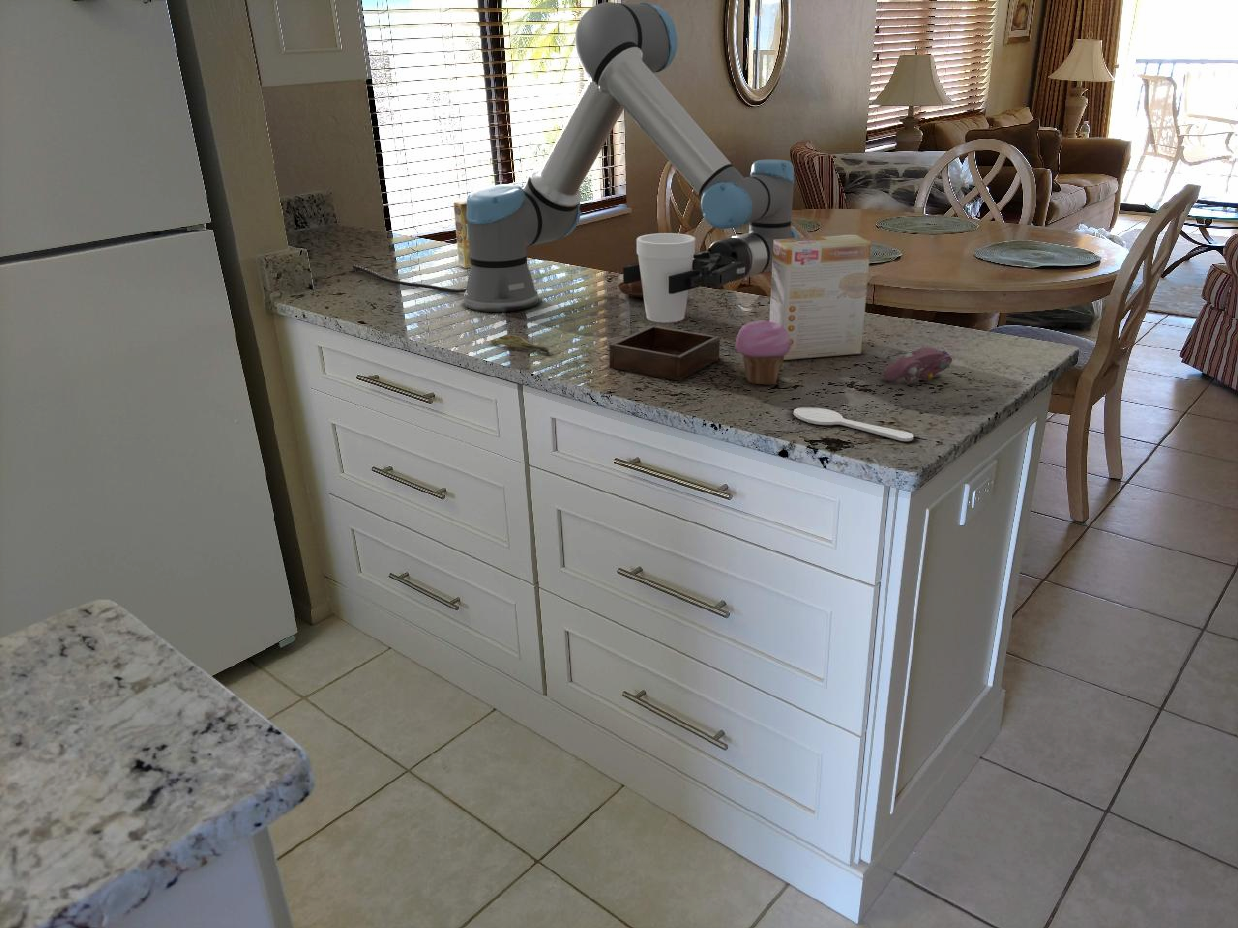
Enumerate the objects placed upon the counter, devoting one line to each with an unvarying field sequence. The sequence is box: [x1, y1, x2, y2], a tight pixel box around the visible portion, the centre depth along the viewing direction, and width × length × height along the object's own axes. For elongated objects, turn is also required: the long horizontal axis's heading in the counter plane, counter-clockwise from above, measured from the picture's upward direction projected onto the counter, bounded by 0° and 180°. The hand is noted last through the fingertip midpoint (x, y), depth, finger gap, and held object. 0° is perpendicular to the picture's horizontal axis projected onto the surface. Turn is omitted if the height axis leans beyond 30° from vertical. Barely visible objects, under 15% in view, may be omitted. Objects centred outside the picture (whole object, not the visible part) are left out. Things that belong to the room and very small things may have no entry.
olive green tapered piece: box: [490, 334, 550, 356], centre depth 172 cm, size 4×13×2 cm, turn 55°
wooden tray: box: [608, 325, 721, 382], centre depth 162 cm, size 14×14×4 cm
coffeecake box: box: [768, 234, 872, 361], centre depth 164 cm, size 15×7×20 cm, turn 102°
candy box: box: [453, 200, 471, 269], centre depth 232 cm, size 9×4×15 cm, turn 125°
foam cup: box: [636, 232, 696, 323], centre depth 157 cm, size 10×9×13 cm
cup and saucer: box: [617, 262, 644, 298], centre depth 205 cm, size 12×12×6 cm
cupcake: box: [734, 319, 791, 386], centre depth 152 cm, size 9×9×10 cm
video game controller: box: [882, 346, 953, 385], centre depth 152 cm, size 10×5×7 cm, turn 114°
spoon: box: [793, 406, 914, 442], centre depth 136 cm, size 5×18×1 cm, turn 52°
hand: (647, 280), depth 154 cm, fingers closed on foam cup, 9 cm apart
